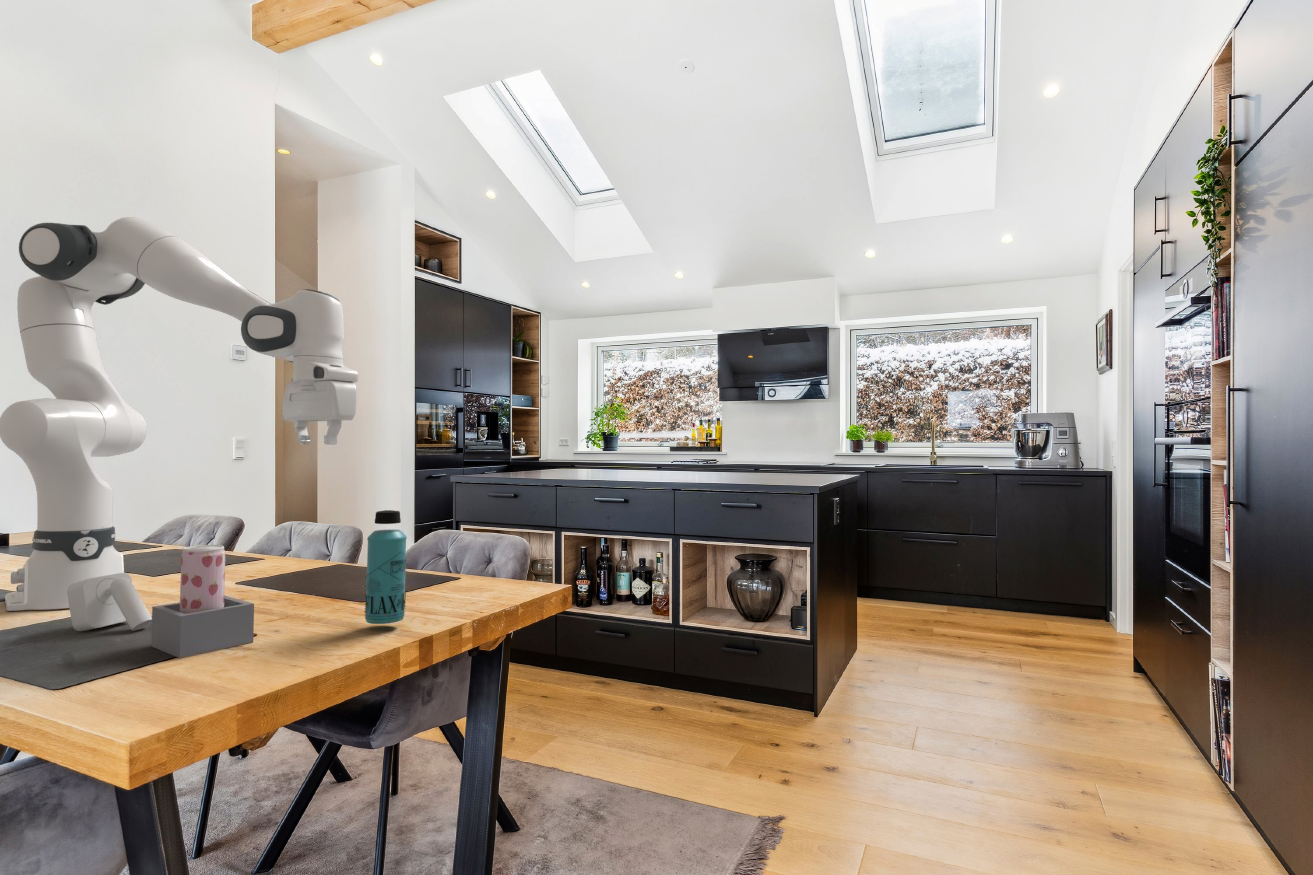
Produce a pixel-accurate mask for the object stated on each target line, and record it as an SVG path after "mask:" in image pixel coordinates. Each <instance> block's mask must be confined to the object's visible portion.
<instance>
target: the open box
mask: <svg viewBox="0 0 1313 875" xmlns="http://www.w3.org/2000/svg"><path fill="white" fill-rule="evenodd" d="M151 609H152V610H151V617H152V623H151V637H150V638H151V640H150V641H151V642H150V643H151V644H150V646H151V647H152V648H155V649H157V650H159V651H162V652H164V653H166V654H168V655H171V656H173V657H176V658H178V659H182V658H187V657H192V656H196V655H200V654H205V653H210V652H215V651H218V650H224V649H228V648H232V647H237V646H242V645H247V644H251V643H254V631H255V630H254V624H255V603H253V602H249V601H246V600H243V599H238V598H235V597H231V596H228V595H225V594H224V608H218V609H212V610H206V611H200V612H194V613H189V614H184V613H181V612H180V601H179V602H174V603H168V604H167V603H166V604H161V605H155V606H154V605H152V606H151Z"/></svg>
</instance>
